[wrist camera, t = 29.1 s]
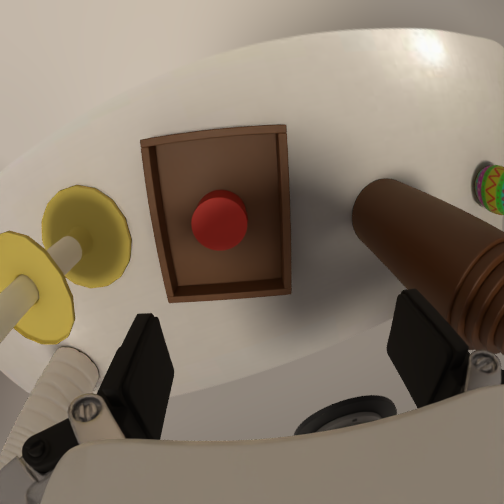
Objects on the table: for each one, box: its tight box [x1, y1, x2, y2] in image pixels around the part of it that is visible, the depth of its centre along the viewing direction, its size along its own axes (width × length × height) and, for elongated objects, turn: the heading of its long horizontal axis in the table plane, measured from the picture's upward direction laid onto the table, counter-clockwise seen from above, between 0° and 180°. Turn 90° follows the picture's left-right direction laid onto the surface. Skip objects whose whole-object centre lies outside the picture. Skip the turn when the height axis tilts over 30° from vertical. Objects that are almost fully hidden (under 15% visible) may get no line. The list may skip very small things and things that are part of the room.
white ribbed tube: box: [0, 347, 99, 470], centre depth 18 cm, size 9×6×25 cm
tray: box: [140, 125, 292, 303], centre depth 22 cm, size 13×10×2 cm
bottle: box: [352, 179, 504, 355], centre depth 15 cm, size 6×6×20 cm
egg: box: [475, 165, 504, 215], centre depth 20 cm, size 5×5×6 cm
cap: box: [191, 190, 248, 251], centre depth 22 cm, size 4×4×3 cm
